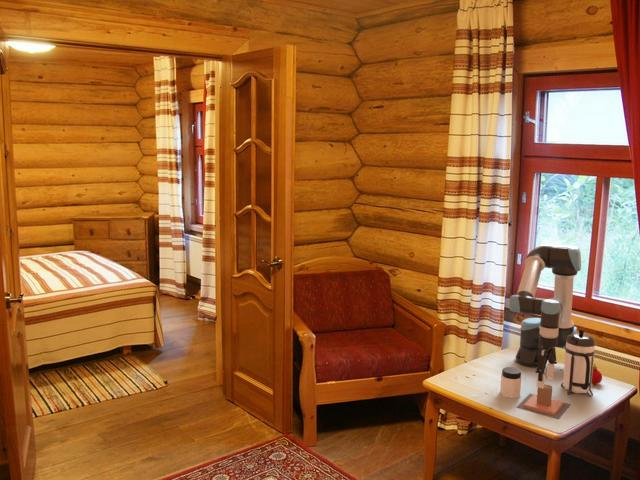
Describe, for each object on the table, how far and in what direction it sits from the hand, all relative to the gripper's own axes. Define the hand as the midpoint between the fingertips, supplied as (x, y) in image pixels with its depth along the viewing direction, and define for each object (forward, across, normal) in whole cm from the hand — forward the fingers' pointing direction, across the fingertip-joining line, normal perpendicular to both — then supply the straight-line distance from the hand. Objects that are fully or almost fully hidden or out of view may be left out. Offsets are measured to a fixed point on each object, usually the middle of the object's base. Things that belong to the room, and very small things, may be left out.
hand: (545, 382), depth 258 cm
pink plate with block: (+11, 0, 0) cm, 11 cm away
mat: (+11, 0, 0) cm, 11 cm away
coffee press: (+11, -26, +8) cm, 29 cm away
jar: (+12, -4, -16) cm, 20 cm away
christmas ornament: (+11, -40, +11) cm, 43 cm away
